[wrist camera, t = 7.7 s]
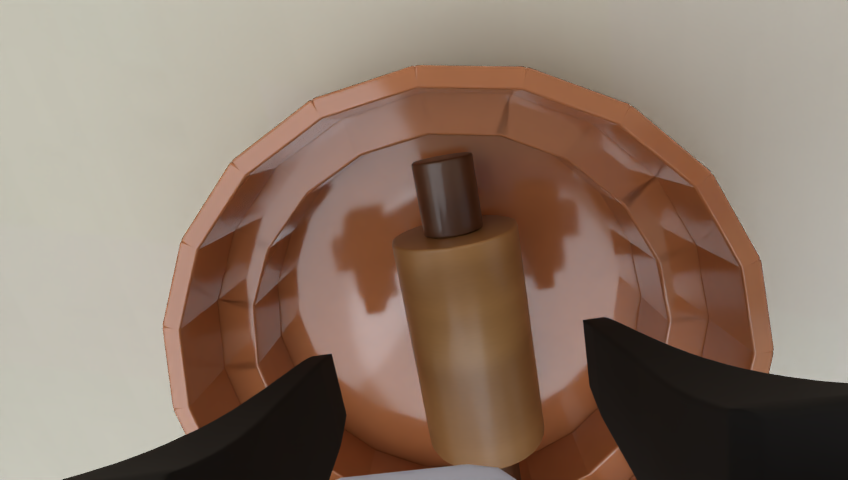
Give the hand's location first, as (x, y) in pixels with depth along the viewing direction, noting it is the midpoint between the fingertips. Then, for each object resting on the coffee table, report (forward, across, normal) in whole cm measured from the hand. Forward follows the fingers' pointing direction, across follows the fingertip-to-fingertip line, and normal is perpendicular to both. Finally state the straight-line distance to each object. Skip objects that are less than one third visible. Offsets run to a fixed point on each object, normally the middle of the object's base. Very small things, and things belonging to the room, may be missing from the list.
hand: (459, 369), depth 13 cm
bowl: (+4, 0, 0) cm, 4 cm away
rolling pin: (+4, 0, 0) cm, 4 cm away
